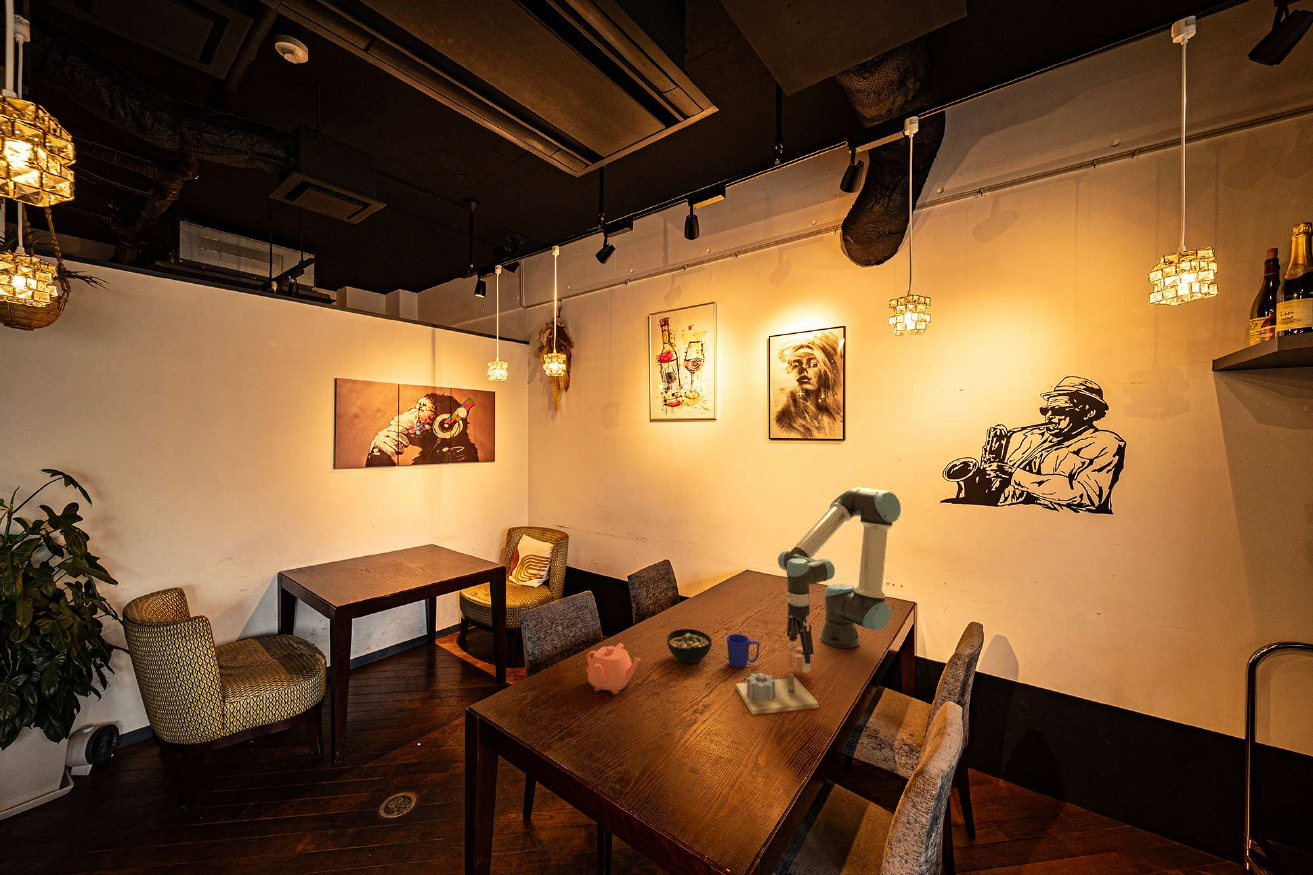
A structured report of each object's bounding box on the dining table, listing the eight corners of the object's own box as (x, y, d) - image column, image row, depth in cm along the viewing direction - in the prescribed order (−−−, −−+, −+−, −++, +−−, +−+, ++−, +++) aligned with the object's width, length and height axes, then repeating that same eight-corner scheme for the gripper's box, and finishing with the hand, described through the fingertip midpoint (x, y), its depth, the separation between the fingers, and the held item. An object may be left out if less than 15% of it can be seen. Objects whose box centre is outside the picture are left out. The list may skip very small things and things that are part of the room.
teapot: (642, 690, 166) (641, 651, 166) (596, 704, 157) (595, 663, 157) (621, 670, 180) (621, 634, 180) (578, 682, 171) (577, 644, 171)
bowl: (681, 676, 175) (681, 648, 175) (659, 656, 190) (659, 631, 190) (720, 665, 183) (720, 638, 183) (696, 647, 198) (696, 623, 198)
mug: (759, 672, 178) (759, 644, 178) (726, 669, 180) (726, 642, 180) (759, 661, 186) (759, 635, 186) (727, 658, 188) (727, 633, 188)
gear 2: (806, 658, 180) (805, 645, 180) (817, 670, 172) (817, 656, 171) (783, 660, 179) (782, 647, 179) (794, 673, 170) (793, 659, 170)
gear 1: (761, 684, 166) (761, 669, 166) (781, 696, 159) (781, 681, 159) (741, 692, 161) (741, 677, 161) (760, 705, 154) (760, 689, 154)
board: (795, 681, 171) (795, 662, 170) (818, 707, 155) (818, 685, 155) (735, 687, 167) (735, 667, 167) (752, 714, 151) (752, 692, 151)
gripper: (776, 593, 185) (777, 652, 185) (802, 615, 163) (804, 681, 164) (794, 591, 186) (796, 649, 187) (823, 613, 165) (825, 678, 165)
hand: (800, 664), depth 175 cm, fingers closed on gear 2, 9 cm apart
